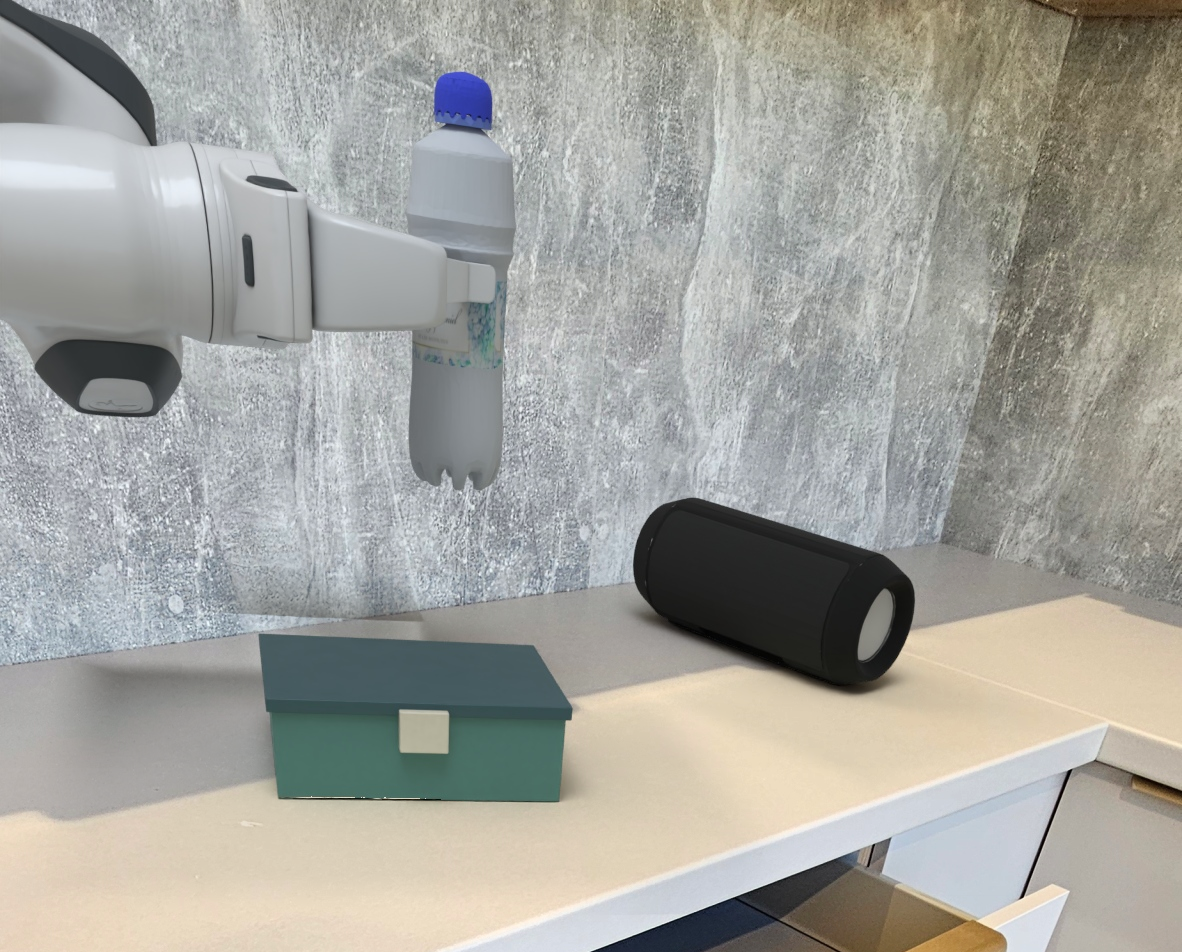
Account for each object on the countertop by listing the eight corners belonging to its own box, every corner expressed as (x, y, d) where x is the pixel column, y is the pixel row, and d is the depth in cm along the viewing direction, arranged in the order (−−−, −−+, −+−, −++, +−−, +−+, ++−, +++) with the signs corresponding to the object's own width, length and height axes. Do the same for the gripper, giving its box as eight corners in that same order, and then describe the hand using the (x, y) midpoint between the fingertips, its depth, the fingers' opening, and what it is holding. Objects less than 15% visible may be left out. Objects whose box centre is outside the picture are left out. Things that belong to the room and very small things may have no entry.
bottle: (384, 477, 81) (381, 57, 67) (447, 469, 85) (456, 74, 71) (462, 498, 78) (474, 69, 65) (522, 489, 83) (546, 85, 69)
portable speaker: (901, 685, 105) (934, 556, 98) (836, 702, 100) (866, 567, 93) (688, 607, 117) (705, 487, 110) (619, 618, 112) (632, 494, 105)
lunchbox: (273, 803, 73) (265, 701, 69) (265, 725, 83) (258, 630, 79) (566, 806, 78) (574, 710, 73) (526, 731, 87) (532, 642, 83)
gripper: (222, 298, 78) (424, 318, 83) (289, 346, 65) (525, 366, 70) (211, 168, 74) (425, 197, 79) (281, 192, 61) (533, 224, 66)
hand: (473, 276), depth 74 cm, fingers closed on bottle, 6 cm apart
